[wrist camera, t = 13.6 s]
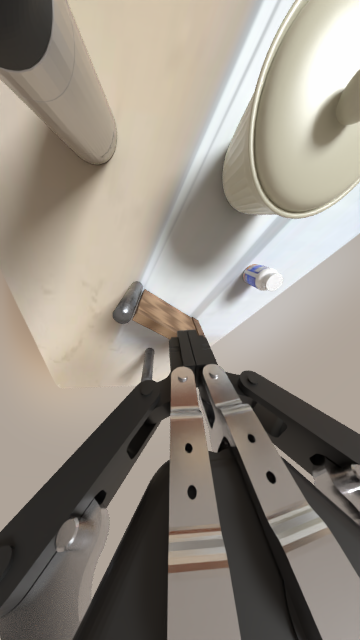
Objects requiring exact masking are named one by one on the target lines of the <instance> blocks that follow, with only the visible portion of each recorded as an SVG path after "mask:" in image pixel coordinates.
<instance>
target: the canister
mask: <svg viewBox="0 0 360 640" xmlns="http://www.w3.org/2000/svg"><path fill="white" fill-rule="evenodd" d="M222 174H223V178H222V181H223V188H224V193H225V195H226V199H227V200H228V202H229V203H230V204H231V206H232V207H233V208H235V210H237V211H239V212H240V213H244V214H253V215H272V214H277V215H279V216H282V217H285V218H291V219H299V218H305V217H309V216H313V215H315V214H318V213H320V212H322V211H324V210H326V209H328V208H329V207H331V206H333V205H334V204H335V203H337V202H338V201H339V200H341V199H342V198H343V197H344V196H346V195H347V194H348V193H349V192H350V191H351V190H352V189H353V188H354V187H355V186H356V185H357V184H358V183H359V182H360V0H295V2H294V3H293V5H292V7H291V8H290V10H289V11H288V13H287V15H286V16H285V18H284V20H283V22H282V24H281V25H280V27H279V29H278V31H277V33H276V35H275V37H274V39H273V41H272V44H271V46H270V48H269V50H268V53H267V55H266V58H265V60H264V63H263V66H262V69H261V72H260V75H259V78H258V81H257V85H256V89H255V92H254V94H253V96H252V98H251V100H250V102H249V104H248V106H247V108H246V110H245V112H244V114H243V116H242V118H241V120H240V123H239V125H238V127H237V129H236V131H235V133H234V135H233V138H232V140H231V142H230V144H229V147H228V150H227V153H226V156H225V161H224V164H223V171H222Z"/></svg>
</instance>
